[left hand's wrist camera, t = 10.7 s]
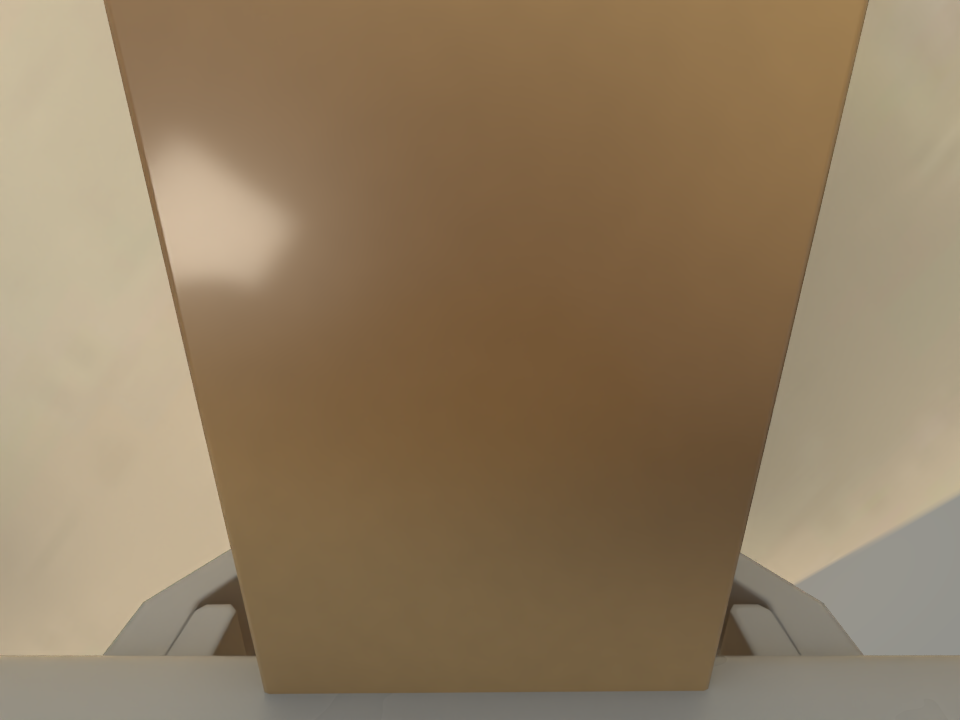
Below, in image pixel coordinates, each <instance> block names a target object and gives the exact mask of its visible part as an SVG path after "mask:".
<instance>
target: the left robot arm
mask: <svg viewBox="0 0 960 720" xmlns="http://www.w3.org/2000/svg"><path fill="white" fill-rule="evenodd" d="M0 720H960V656H864V655H863V654H862V652H861V651H860V650H859V649H858V647H857V646H856V645H855V643H854V642H853V641H852V639H851V638H850V637H849V636H848V634H847V633H846V632H845V630H844V629H843V628H842V627H841V625H840V624H839V623H838V621H837V620H836V619H835V618H834V616H833V615H832V614H831V612H830V611H829V610H828V609H827V607H826V606H825V605H824V603H822V602H821V601H819V600H817V599H816V598H814V597H812V596H811V595H809V594H808V593H806V592H804V591H803V590H801V589H799V588H798V587H796V586H794V585H793V584H791V583H789V582H788V581H786V580H785V579H783V578H781V577H780V576H778V575H776V574H775V573H773V572H771V571H770V570H768V569H766V568H765V567H763V566H761V565H760V564H758V563H756V562H755V561H753V560H752V559H750V558H748V557H747V556H745V555H743V554H742V553H740V554H739V559H738V563H737V567H736V571H735V576H734V580H733V584H732V589H731V593H730V597H729V601H728V606H727V610H726V614H725V619H724V623H723V627H722V631H721V636H720V640H719V644H718V649H717V653H716V657H715V661H714V666H713V670H712V674H711V679H710V683H709V687H708V689H707V690H704V691H603V692H468V693H334V694H268V693H265V692H264V688H263V684H262V680H261V675H260V671H259V667H258V662H257V658H256V654H255V650H254V645H253V641H252V637H251V632H250V628H249V624H248V619H247V615H246V611H245V607H244V602H243V598H242V594H241V589H240V585H239V581H238V576H237V572H236V568H235V564H234V559H233V555H232V551H231V549H230V550H228V551H227V552H225V553H223V554H222V555H220V556H218V557H217V558H215V559H214V560H212V561H210V562H209V563H207V564H205V565H204V566H202V567H200V568H199V569H197V570H195V571H194V572H192V573H191V574H189V575H187V576H186V577H184V578H182V579H181V580H179V581H177V582H176V583H174V584H173V585H171V586H169V587H168V588H166V589H164V590H163V591H161V592H159V593H158V594H156V595H155V596H153V597H151V598H150V599H148V600H146V601H145V602H143V604H142V605H141V606H140V607H139V609H138V610H137V611H136V613H135V614H134V615H133V617H132V618H131V619H130V620H129V622H128V623H127V624H126V626H125V627H124V628H123V630H122V631H121V632H120V634H119V635H118V636H117V637H116V639H115V640H114V641H113V643H112V644H111V645H110V647H109V648H108V649H107V650H106V652H105V653H104V654H103V656H0Z"/></svg>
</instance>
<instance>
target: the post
mask: <svg viewBox="0 0 960 720" xmlns="http://www.w3.org/2000/svg"><path fill="white" fill-rule="evenodd" d="M868 1H869V0H104V4H105V8H106V13H107V17H108V21H109V26H110V30H111V34H112V38H113V43H114V47H115V51H116V56H117V60H118V64H119V69H120V73H121V77H122V82H123V86H124V90H125V94H126V99H127V103H128V107H129V112H130V116H131V120H132V125H133V129H134V133H135V137H136V142H137V146H138V150H139V155H140V159H141V163H142V168H143V172H144V176H145V180H146V185H147V189H148V193H149V198H150V202H151V206H152V211H153V215H154V219H155V224H156V228H157V232H158V236H159V241H160V245H161V249H162V254H163V258H164V262H165V267H166V271H167V275H168V279H169V284H170V288H171V292H172V297H173V301H174V305H175V310H176V314H177V318H178V323H179V327H180V331H181V335H182V340H183V344H184V348H185V353H186V357H187V361H188V366H189V370H190V374H191V378H192V383H193V387H194V391H195V396H196V400H197V404H198V409H199V413H200V417H201V421H202V426H203V430H204V434H205V439H206V443H207V447H208V452H209V456H210V460H211V465H212V469H213V473H214V477H215V482H216V486H217V490H218V495H219V499H220V503H221V508H222V512H223V516H224V520H225V525H226V529H227V533H228V538H229V542H230V546H231V551H232V555H233V559H234V564H235V568H236V572H237V576H238V581H239V585H240V589H241V594H242V598H243V602H244V607H245V611H246V615H247V619H248V624H249V628H250V632H251V637H252V641H253V645H254V650H255V654H256V658H257V662H258V667H259V671H260V675H261V680H262V684H263V688H264V692H265V693H268V694H334V693H468V692H603V691H704V690H707V689H708V687H709V683H710V679H711V674H712V670H713V666H714V661H715V657H716V653H717V649H718V644H719V640H720V636H721V631H722V627H723V623H724V619H725V614H726V610H727V606H728V601H729V597H730V593H731V589H732V584H733V580H734V576H735V571H736V567H737V563H738V559H739V554H740V550H741V546H742V541H743V537H744V533H745V529H746V524H747V520H748V516H749V511H750V507H751V503H752V499H753V494H754V490H755V486H756V481H757V477H758V473H759V469H760V464H761V460H762V456H763V451H764V447H765V443H766V439H767V434H768V430H769V426H770V421H771V417H772V413H773V409H774V404H775V400H776V396H777V391H778V387H779V383H780V379H781V374H782V370H783V366H784V361H785V357H786V353H787V349H788V344H789V340H790V336H791V331H792V327H793V323H794V319H795V314H796V310H797V306H798V301H799V297H800V293H801V289H802V284H803V280H804V276H805V271H806V267H807V263H808V259H809V254H810V250H811V246H812V241H813V237H814V233H815V229H816V224H817V220H818V216H819V211H820V207H821V203H822V199H823V194H824V190H825V186H826V181H827V177H828V173H829V169H830V164H831V160H832V156H833V151H834V147H835V143H836V139H837V134H838V130H839V126H840V121H841V117H842V113H843V109H844V104H845V100H846V96H847V91H848V87H849V83H850V79H851V74H852V70H853V66H854V61H855V57H856V53H857V49H858V44H859V40H860V36H861V31H862V27H863V23H864V19H865V14H866V10H867V6H868Z"/></svg>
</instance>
